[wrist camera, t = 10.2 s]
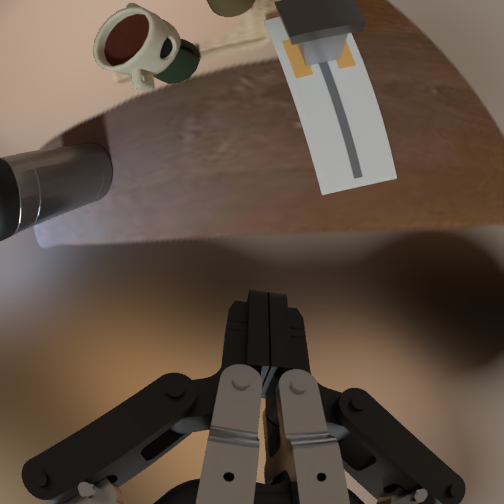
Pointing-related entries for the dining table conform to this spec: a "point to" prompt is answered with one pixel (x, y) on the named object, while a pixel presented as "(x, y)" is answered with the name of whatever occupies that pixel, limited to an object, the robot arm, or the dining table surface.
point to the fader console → (337, 115)
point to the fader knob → (320, 26)
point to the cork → (230, 7)
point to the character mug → (144, 48)
